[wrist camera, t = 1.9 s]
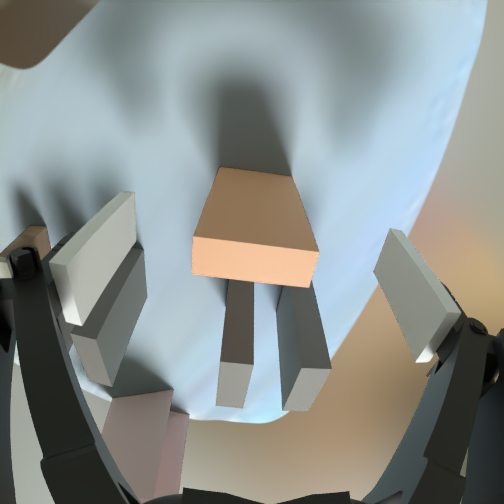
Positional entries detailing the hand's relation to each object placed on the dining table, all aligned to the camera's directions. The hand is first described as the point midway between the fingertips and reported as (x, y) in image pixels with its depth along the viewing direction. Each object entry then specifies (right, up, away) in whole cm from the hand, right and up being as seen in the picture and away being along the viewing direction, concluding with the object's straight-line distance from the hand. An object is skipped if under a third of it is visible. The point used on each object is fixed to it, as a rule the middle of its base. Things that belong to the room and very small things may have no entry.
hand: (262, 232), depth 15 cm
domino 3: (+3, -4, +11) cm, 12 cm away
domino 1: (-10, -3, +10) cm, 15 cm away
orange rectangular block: (0, +4, +6) cm, 7 cm away
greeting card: (-14, -20, +21) cm, 32 cm away
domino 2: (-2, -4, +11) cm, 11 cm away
